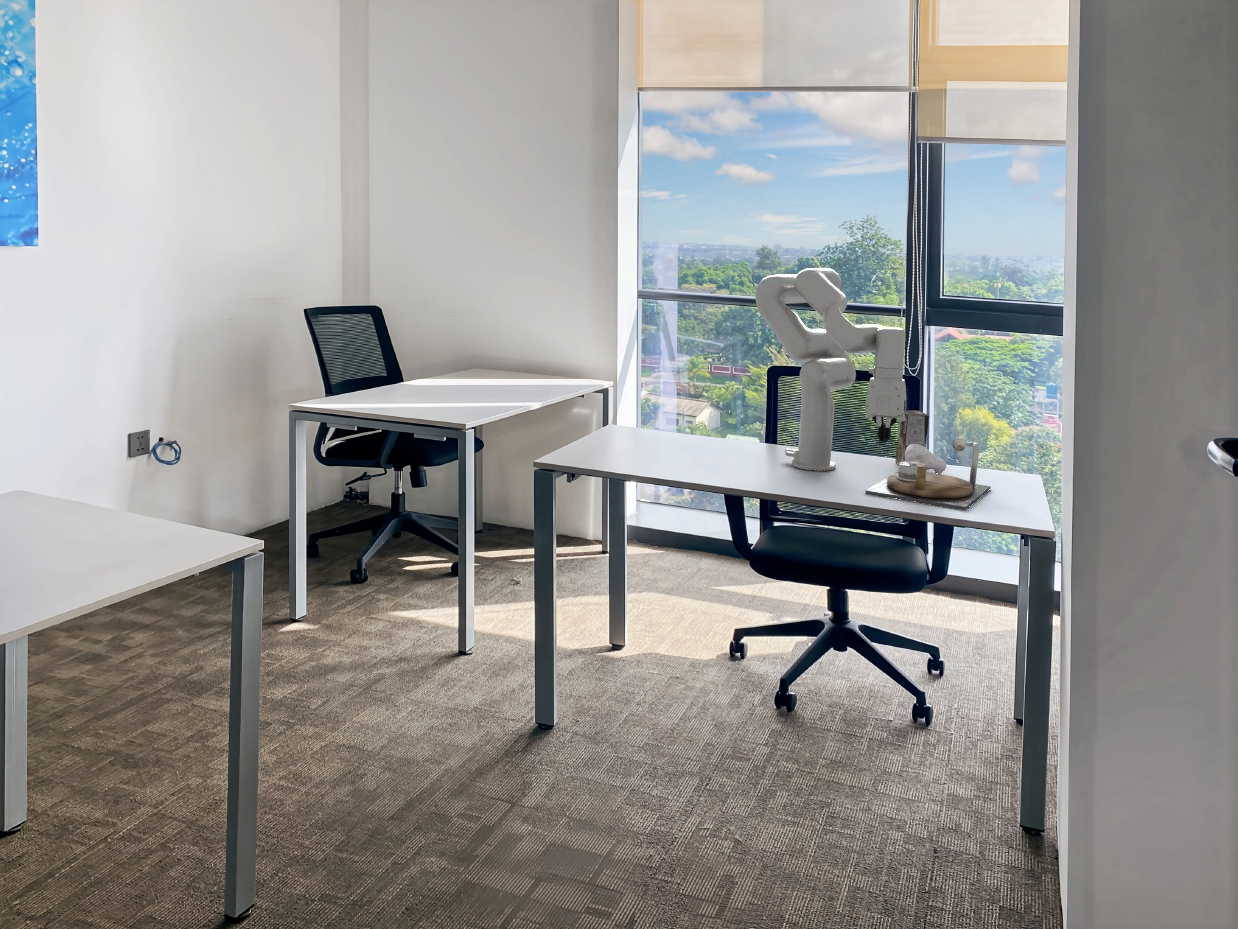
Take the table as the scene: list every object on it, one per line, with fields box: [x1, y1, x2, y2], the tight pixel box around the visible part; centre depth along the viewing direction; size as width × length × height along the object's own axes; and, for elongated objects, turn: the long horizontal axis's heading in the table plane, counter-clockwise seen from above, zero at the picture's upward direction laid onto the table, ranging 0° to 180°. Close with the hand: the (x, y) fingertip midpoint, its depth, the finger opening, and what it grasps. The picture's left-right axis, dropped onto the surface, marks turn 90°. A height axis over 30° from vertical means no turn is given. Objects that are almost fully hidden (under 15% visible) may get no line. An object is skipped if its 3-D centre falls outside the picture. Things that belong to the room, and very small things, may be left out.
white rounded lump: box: [905, 444, 947, 474], centre depth 298 cm, size 6×8×12 cm
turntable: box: [886, 465, 973, 498], centre depth 278 cm, size 22×22×7 cm
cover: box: [896, 461, 926, 483], centre depth 280 cm, size 8×8×4 cm
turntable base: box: [864, 437, 992, 511], centre depth 277 cm, size 26×26×14 cm
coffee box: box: [894, 409, 930, 466], centre depth 306 cm, size 9×6×16 cm
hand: (883, 440), depth 283 cm, fingers closed
